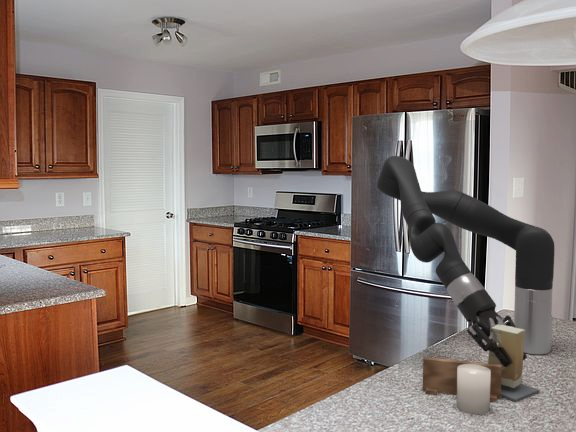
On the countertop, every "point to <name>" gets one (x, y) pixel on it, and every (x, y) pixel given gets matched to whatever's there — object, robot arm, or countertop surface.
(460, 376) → the white pillar candle
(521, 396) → the slate mat
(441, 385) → the walnut screen
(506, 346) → the skincare box
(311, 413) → the countertop surface
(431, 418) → the countertop surface
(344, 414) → the countertop surface
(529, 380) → the countertop surface
